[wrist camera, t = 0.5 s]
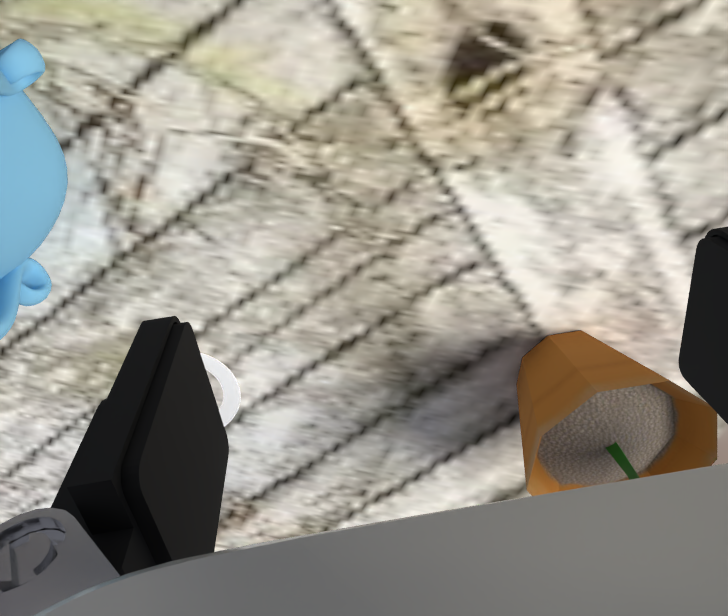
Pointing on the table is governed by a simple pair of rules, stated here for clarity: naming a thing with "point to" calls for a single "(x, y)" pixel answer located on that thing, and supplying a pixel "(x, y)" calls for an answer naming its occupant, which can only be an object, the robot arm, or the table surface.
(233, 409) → the teacup and saucer
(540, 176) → the table surface
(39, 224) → the decorative pot
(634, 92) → the table surface
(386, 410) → the table surface
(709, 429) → the potted plant
